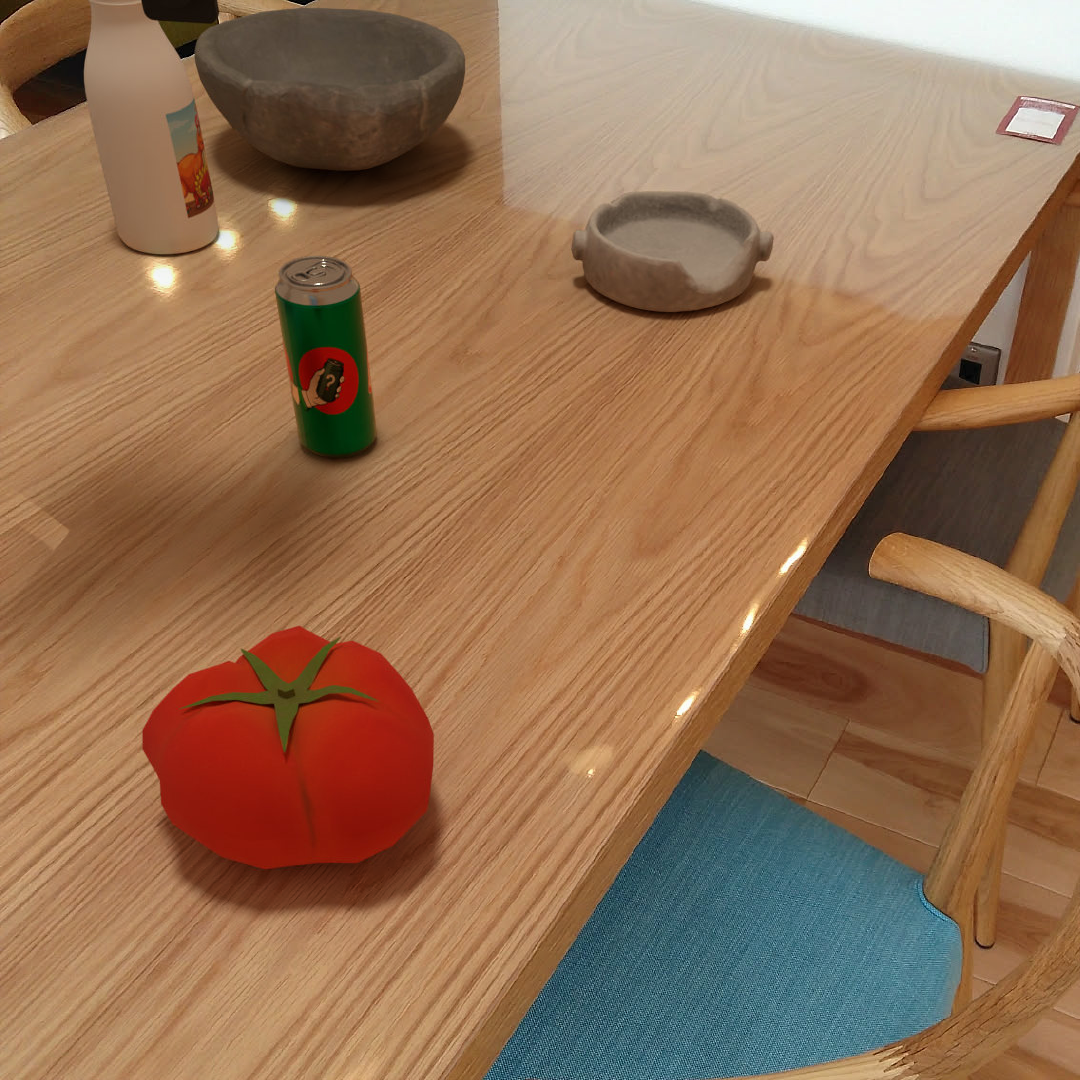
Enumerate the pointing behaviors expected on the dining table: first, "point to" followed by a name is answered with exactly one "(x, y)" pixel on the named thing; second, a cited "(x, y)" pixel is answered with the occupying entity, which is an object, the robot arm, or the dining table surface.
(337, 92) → the bowl
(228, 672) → the tomato
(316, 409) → the soda can
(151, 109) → the milk bottle
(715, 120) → the dining table surface
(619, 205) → the dish
